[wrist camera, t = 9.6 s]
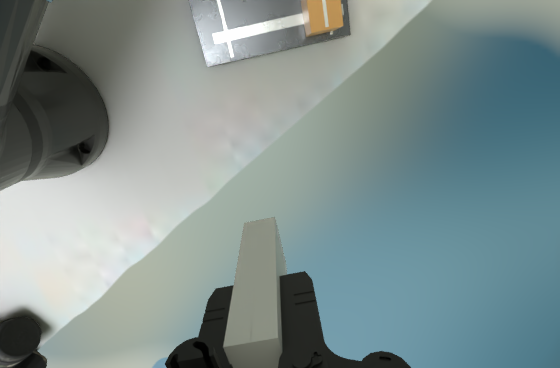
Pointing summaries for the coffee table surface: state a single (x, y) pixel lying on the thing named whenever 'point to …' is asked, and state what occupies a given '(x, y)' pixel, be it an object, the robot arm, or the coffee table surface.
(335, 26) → the fader orange
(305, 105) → the coffee table surface
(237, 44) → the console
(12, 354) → the camera
